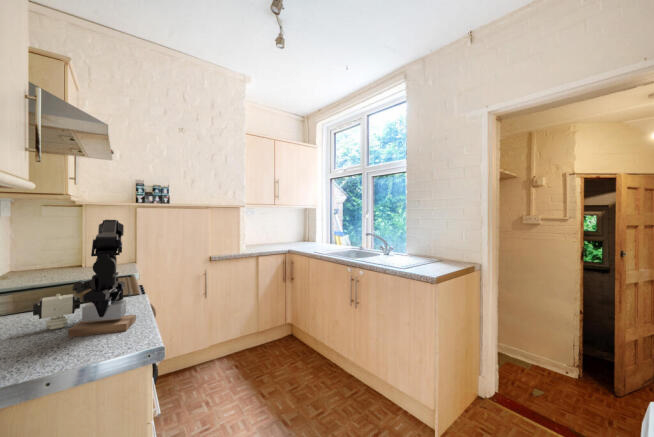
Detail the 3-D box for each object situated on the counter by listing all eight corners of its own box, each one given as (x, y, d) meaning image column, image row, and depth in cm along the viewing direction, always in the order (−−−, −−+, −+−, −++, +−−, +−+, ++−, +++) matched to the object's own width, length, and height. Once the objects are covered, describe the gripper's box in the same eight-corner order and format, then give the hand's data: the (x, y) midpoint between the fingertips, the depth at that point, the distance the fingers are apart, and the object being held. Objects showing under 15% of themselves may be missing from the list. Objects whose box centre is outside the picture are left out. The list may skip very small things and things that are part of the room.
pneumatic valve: (33, 330, 93) (34, 295, 93) (79, 321, 101) (80, 290, 101) (31, 335, 89) (33, 299, 89) (79, 325, 97) (80, 293, 97)
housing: (125, 313, 100) (126, 297, 100) (120, 318, 95) (121, 301, 95) (89, 316, 96) (89, 300, 96) (81, 321, 91) (82, 304, 91)
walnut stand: (83, 326, 97) (83, 319, 97) (135, 321, 102) (135, 314, 103) (68, 337, 88) (68, 329, 88) (126, 330, 93) (126, 323, 93)
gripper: (90, 267, 101) (89, 308, 101) (62, 277, 84) (60, 326, 84) (125, 266, 105) (124, 306, 105) (105, 275, 88) (104, 322, 87)
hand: (104, 314), depth 95 cm, fingers closed on housing, 5 cm apart
